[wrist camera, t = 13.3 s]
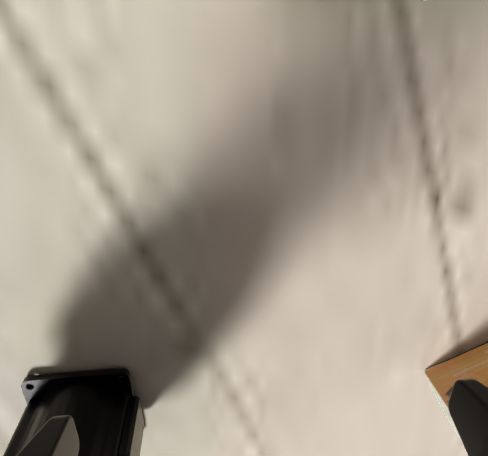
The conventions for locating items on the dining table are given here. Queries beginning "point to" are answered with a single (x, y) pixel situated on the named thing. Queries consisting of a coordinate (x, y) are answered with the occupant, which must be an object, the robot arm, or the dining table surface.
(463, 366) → the small box
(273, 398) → the dining table surface
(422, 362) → the dining table surface
